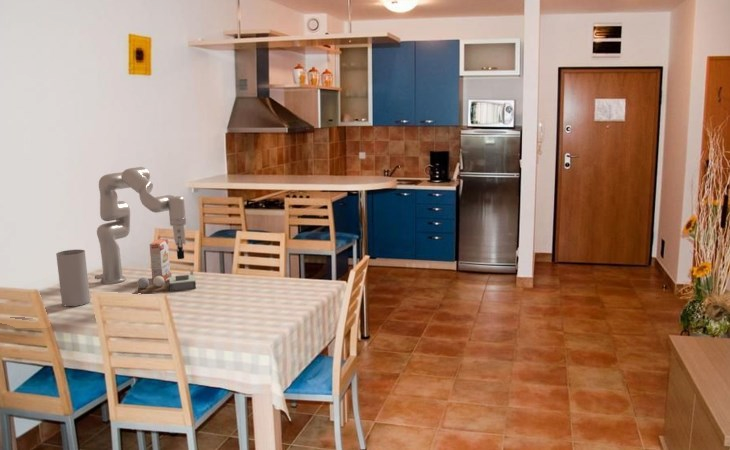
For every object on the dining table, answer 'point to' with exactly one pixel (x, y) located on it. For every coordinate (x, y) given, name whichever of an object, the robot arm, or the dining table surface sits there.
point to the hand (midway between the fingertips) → (180, 257)
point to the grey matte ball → (143, 283)
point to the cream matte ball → (158, 281)
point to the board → (152, 289)
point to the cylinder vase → (73, 277)
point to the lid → (182, 279)
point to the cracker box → (160, 258)
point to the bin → (182, 285)
